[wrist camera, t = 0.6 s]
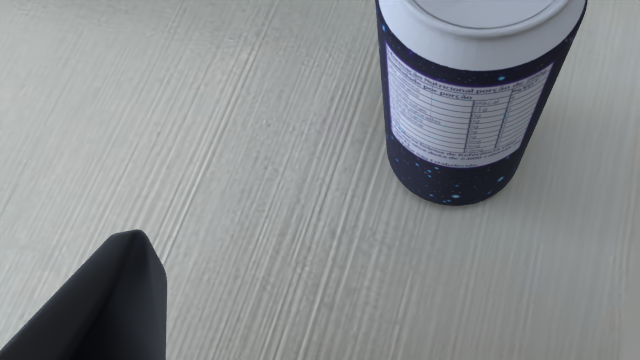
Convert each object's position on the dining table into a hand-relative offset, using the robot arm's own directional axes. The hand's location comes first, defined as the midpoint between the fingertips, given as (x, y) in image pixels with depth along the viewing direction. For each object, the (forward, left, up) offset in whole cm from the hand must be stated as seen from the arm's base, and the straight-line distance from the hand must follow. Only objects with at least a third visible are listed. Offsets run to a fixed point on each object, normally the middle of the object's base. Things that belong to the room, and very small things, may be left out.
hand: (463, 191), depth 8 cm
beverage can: (+7, -4, -16) cm, 18 cm away
